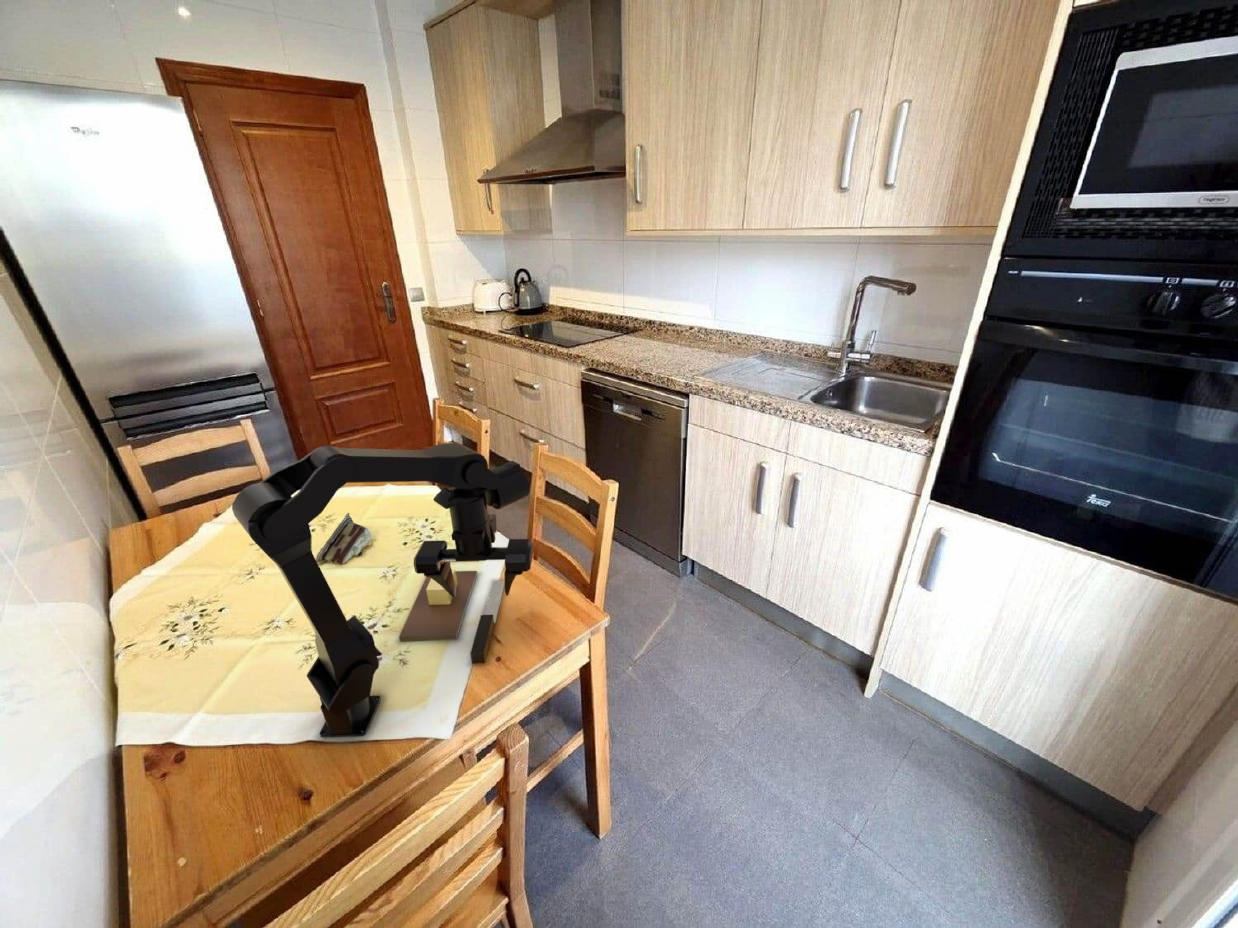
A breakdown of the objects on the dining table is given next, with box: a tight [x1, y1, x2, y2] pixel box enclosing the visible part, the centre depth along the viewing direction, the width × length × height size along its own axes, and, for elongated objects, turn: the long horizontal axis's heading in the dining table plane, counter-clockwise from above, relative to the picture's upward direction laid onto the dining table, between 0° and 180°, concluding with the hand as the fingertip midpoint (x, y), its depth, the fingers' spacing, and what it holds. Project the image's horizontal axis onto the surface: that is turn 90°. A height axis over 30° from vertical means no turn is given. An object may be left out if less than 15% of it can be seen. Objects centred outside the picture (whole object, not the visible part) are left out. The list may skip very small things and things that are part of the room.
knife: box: [470, 579, 505, 664], centre depth 94 cm, size 21×2×2 cm, turn 3°
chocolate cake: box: [315, 512, 373, 565], centre depth 112 cm, size 10×7×12 cm
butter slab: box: [426, 568, 456, 595], centre depth 97 cm, size 6×4×1 cm, turn 3°
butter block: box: [427, 575, 458, 605], centre depth 98 cm, size 6×4×2 cm, turn 3°
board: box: [398, 570, 478, 642], centre depth 97 cm, size 18×10×1 cm, turn 3°
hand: (481, 594), depth 88 cm, fingers open, 9 cm apart
